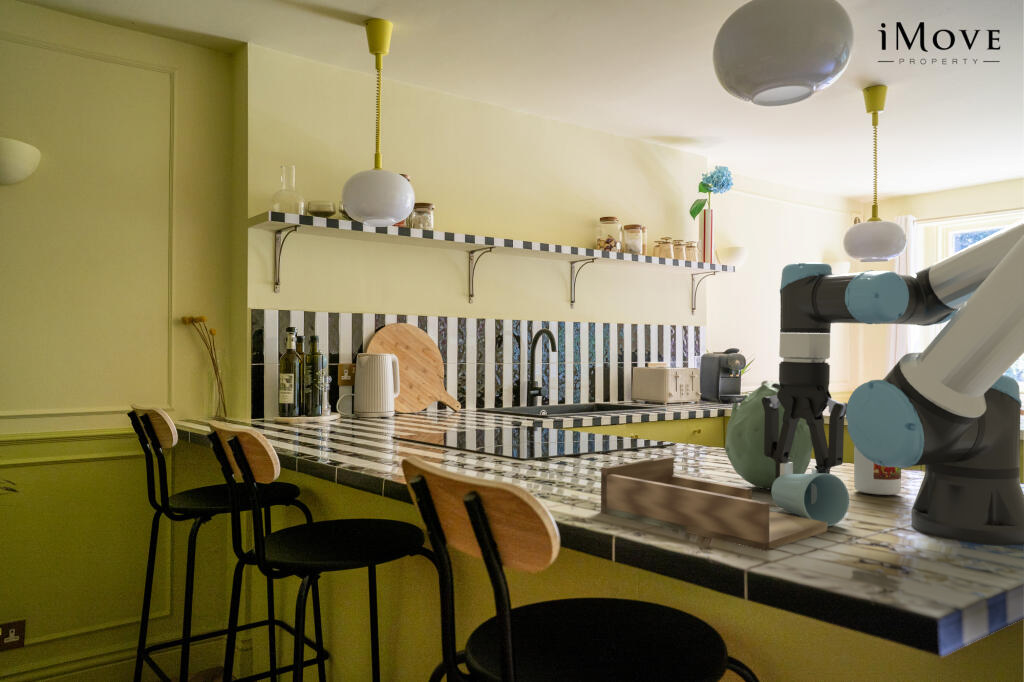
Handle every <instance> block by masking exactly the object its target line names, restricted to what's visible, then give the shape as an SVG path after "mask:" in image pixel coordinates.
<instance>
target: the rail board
mask: <svg viewBox="0 0 1024 682" xmlns="http://www.w3.org/2000/svg"><path fill="white" fill-rule="evenodd" d="M674 465H675V464H674V457H673V456H664V457H657V458H650V457H646V458H641V459H639V458H638V459H634V460H627V461H624V462H623V463H619V464H614V465H606V466H601V467H600V513H603V514H607V515H611V516H615V517H618V518H619V517H620V518H625V519H628V520H633V521H636V522H641V523H645V524H649V525H654V526H658V527H663V528H666V529H671V530H674V531H680V532H684V533H687V534H692V535H697V536H701V537H706V538H709V539H713V538H714V540H717V539H718V540H717V541H721V540H722V542H726V541H727V542H726V543H730V542H731V543H730V544H734V543H736V544H735V545H739V544H740V546H743V545H744V547H747V546H748V547H747V548H751V547H752V548H751V549H757V550H760V549H761V550H760V551H764V550H765V551H767V549H768V550H771V549H774V548H777V546H778V547H780V545H781V546H784V545H787V544H790V542H791V543H794V542H796V541H800V540H802V539H806V538H810V537H813V536H816V535H820V534H823V533H826V532H828V526H827V522H823V521H817V520H812V519H807V518H802V517H800V516H798V515H791V514H787V513H786V514H785V513H780V512H775V511H772V510H770V505H771V504H770V502H766V501H761V500H756V499H753V494H752V493H753V492H752V491H753V488H751V487H746V486H738V485H734V484H728V483H721V482H715V481H710V480H705V479H700V478H692V477H686V476H682V475H677V474H676V475H675V474H674V469H675V468H674ZM786 543H787V544H786ZM773 547H774V548H773ZM770 548H771V549H770Z"/></svg>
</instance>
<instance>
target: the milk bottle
mask: <svg viewBox="0 0 1024 682" xmlns="http://www.w3.org/2000/svg"><path fill="white" fill-rule="evenodd" d="M853 445H854V444H853ZM853 449H854V450H853V451H854V452H853V453H854V454H853V457H854V458H853V459H854V460H853V462H854V463H853V482H854V484H853V485H854V489H855V490H856V491H857V492H861V493H865V494H872V495H881V496H882V495H883V496H884V495H887V496H890V495H892V496H893V495H898V494H900V493H901V492H902V491H901V490H902V468H898V467H885V466H881V465H878V464H875V463H873V462H871V461H870V460H868V459H867V458H866V457H864V456H863V455H862V454H861V453H860V452H859V450H858V449H857V448H856V446H855V445H854V446H853Z"/></svg>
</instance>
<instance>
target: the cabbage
mask: <svg viewBox="0 0 1024 682" xmlns="http://www.w3.org/2000/svg"><path fill="white" fill-rule="evenodd" d="M760 383H761V384H760V386H759V387H757V388H756V389H755V390H753V391H752V392H751V393H749V394H744V399H743V400H741V401H740V404H739V405H738V404H737V402H736V401H734V402H733V403H734V404H732V407H731V412H730V418H729V420H728V422H727V426H726V436H725V446H724V450H725V454H726V456H727V459H728V460H729V462H730V465H731V467H732V468H733V470H734V472H736V474H738V475H739V476H740V477H741V478H742V479H743V480H744V481H746V482H747V483H749V484H751V485H753V486H755V487H758V488H761V489H764V490H771V489H772V485H773V483H774V481H775V480H776V479H775V475H776V474H775V467H776V463H775V461H774V459H772V458H770V457H766V456H765V454H764V430H765V411H764V407H763V404H762V398H763V397H771V396H774V395H777V392H778V390H779V388H780V383H779V382H774V381H772V380H769V379H767V380H763V381H762V382H760ZM778 409H779V437H780V433H781V429H782V425H783V421H782V418H783V414H784V410H785V409H784V408H783V406H782V405H781V403H780V406H779V407H778ZM812 452H813V445H812V440H811V435H810V430H809V426H808V425H807V423H806V419H803V418H800V420H799V422H798V423H797V427H796V431H795V435H794V439H793V443H792V447H791V451H790V455H789V458H791V459H790V460H788V461H787V462H793V474H806V471H807V469H808V468H809V465H810V462H811V458H812V454H813V453H812Z"/></svg>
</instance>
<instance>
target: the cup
mask: <svg viewBox="0 0 1024 682" xmlns="http://www.w3.org/2000/svg"><path fill="white" fill-rule="evenodd" d="M811 482H812V483H813V484H815V485H816V488H817V498H816V502H815V503H814V504H811ZM770 491H771V492H770V493H771V498H772V500H773V502H774V503H775V505H776V506H778V507H779V508H781V509H783V510H785V511H787V512H790V513H791V514H793V515H795V516H797V517H802V518H807V519H812V520H817V521H823V522H827V527H831V526H835V525H836V524H837V525H838V523H840V522H841V521H842V520H843V519H844V518H845V516H846V515H847V513H848V510H849V508H850V507H849V506H850V494H849V491H848V488H847V486H846V484H845V483H844V482H843V481H842V480H841V478H840V477H838V476H837V475H834V474H832V473H830V474H827V473H820V474H812V473H805V474H785V475H782V476H780V477H778V478H777V479H776V480H775V481H774V483H773V485H772V489H770Z"/></svg>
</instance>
